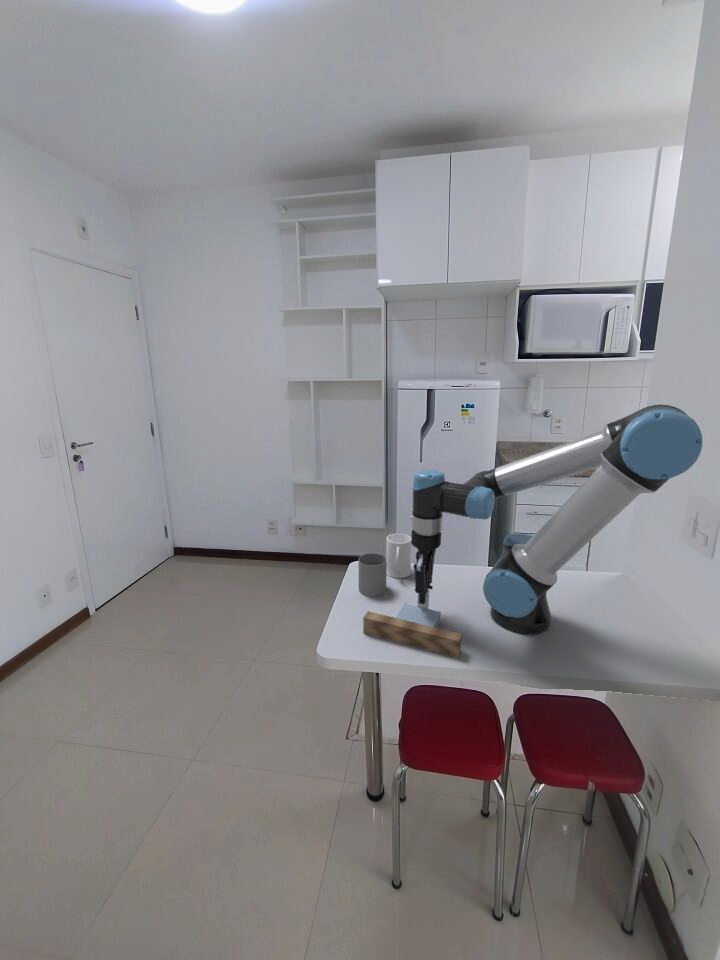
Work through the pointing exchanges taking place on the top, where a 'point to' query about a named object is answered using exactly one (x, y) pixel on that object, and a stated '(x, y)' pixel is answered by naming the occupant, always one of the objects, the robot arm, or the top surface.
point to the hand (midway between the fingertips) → (422, 611)
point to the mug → (398, 555)
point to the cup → (372, 574)
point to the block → (420, 615)
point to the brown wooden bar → (412, 634)
